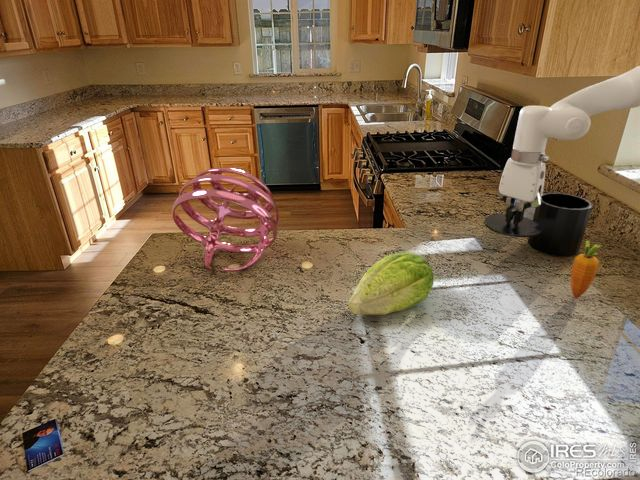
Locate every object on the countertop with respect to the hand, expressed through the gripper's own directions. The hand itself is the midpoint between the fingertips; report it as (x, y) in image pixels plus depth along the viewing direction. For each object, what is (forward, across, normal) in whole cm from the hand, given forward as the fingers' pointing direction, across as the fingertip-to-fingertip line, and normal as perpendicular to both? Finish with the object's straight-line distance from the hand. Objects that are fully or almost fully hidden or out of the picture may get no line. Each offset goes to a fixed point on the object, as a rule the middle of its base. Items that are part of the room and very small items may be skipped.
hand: (513, 221), depth 117 cm
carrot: (+11, -22, +8) cm, 26 cm away
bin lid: (+1, 0, 0) cm, 1 cm away
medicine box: (+11, +10, -28) cm, 32 cm away
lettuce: (+11, +5, +45) cm, 46 cm away
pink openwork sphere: (+11, +49, +60) cm, 79 cm away
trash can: (+11, -6, -16) cm, 20 cm away
